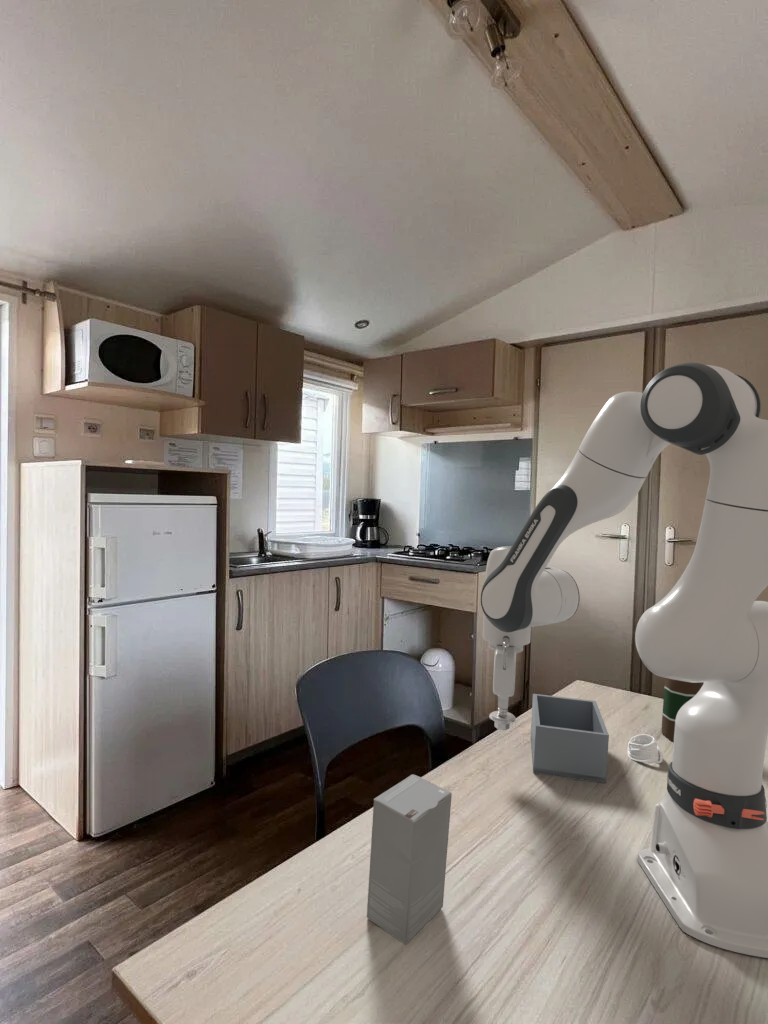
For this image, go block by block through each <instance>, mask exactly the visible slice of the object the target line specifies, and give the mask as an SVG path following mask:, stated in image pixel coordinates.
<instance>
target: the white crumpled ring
mask: <svg viewBox="0 0 768 1024" xmlns="http://www.w3.org/2000/svg"><path fill="white" fill-rule="evenodd" d="M626 751H627V756H628V758H629V759H631V760H632V761H634V762H635V761H636V762H640V763H647V764H662V763H663V761H664V760H663V754H662V751H661V748H660V746H659V745H658V741H657V740H656V739H655V737H654V736H652V735H650V734H645V733H641V734H637V735H633V736H632V737H631V738H630V739H629V741H628V744H627V749H626Z"/></svg>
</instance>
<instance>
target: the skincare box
mask: <svg viewBox="0 0 768 1024" xmlns="http://www.w3.org/2000/svg"><path fill="white" fill-rule="evenodd" d="M452 795H453V794H452V792H451V791H449V790H447V789H444V788H443V787H441V786H438V785H436V784H434V783H432V782H431V781H428V780H427V779H424V778H423V777H421V776H418V775H416V774H414V773H413V774H410V775H409V776H407V777H406V778H405V779H403V780H401V781H399V782H398V783H397V784H395V785H393V786H392V787H390V788H389V789H387V790H385V791H384V792H382V793H381V794H379V795H378V796H376V797H375V798H373V809H372V811H373V812H372V826H371V842H370V857H369V874H368V888H367V903H366V904H367V905H366V906H367V907H366V918H367V919H368V920H369V921H371V922H372V923H374V924H375V925H377V926H378V927H379V928H381V929H382V930H384V931H385V932H387V933H388V934H389V935H391V936H392V937H393V938H395V939H397V940H398V941H399V942H401V943H402V944H404V945H407V944H408V943H409V942H410V941H411V940H412V939H413V938H414V937H415V936H416V935H417V934H419V932H420V931H421V930H422V929H423V928H424V927H425V926H426V925H427V924H428V923H429V922H430V921H431V919H433V918H434V917H435V916H436V915H437V913H439V911H440V910H441V909H442V908H443V907H444V896H445V895H444V894H445V885H446V883H445V881H446V874H447V873H446V871H447V857H448V856H447V855H448V847H449V832H450V822H451V820H450V819H451V810H452V809H451V807H452Z"/></svg>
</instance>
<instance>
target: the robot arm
mask: <svg viewBox="0 0 768 1024" xmlns="http://www.w3.org/2000/svg"><path fill="white" fill-rule="evenodd" d="M761 413H762V401H761V397H760V395H759V391H758V390H757V388H756V387H755V386H754V384H752V383H751V381H749V379H746V378H745V377H744V376H741V375H738V374H736V373H733V372H732V371H730V370H729V369H727V368H724V367H721V366H717V365H711V364H704V363H700V362H684V363H678V364H675V365H671V366H668V367H667V368H664V369H663V370H661V371H660V372H658V373H657V374H656V375H655V376H654V377H652V379H650V381H649V382H648V383H647V385H646V387H645V388H644V390H643V392H640V391H639V392H638V391H622V392H619V393H616V394H614V395H612V396H611V397H610V398H609V399H608V400H607V401H606V402H605V404H604V405H603V407H602V408H601V409H600V411H599V412H598V414H597V415H596V417H595V418H594V420H593V422H592V423H591V425H590V427H588V430H587V432H586V433H585V435H584V436H583V439H582V441H581V443H580V444H579V447H578V449H577V451H576V453H575V456H574V457H573V458H572V460H571V462H570V464H569V465H568V466H567V468H566V470H565V472H564V473H563V474H562V476H561V477H559V479H558V481H556V483H555V484H554V485H553V487H552V488H550V489H549V490H548V492H546V493H545V494H544V496H543V497H542V498H541V500H540V501H539V502H538V503H537V505H536V507H534V510H533V511H532V512H531V514H530V516H529V517H528V519H527V521H526V522H525V524H524V525H523V527H522V529H521V530H520V532H519V534H518V536H517V538H516V539H515V540H514V543H513V544H512V545H506V546H505V545H504V546H499V547H495V548H493V549H492V550H491V551H490V552H489V555H488V558H487V561H486V562H487V563H486V568H485V578H484V583H483V585H482V588H481V591H480V605H481V609H482V612H483V617H482V636H481V637H482V640H483V641H484V642H486V643H487V642H488V649H489V650H491V651H493V652H494V659H493V661H494V662H493V674H492V675H493V677H492V678H493V680H492V693H493V694H494V695H496V696H497V706H498V707H497V708H503V709H507V708H509V698H510V697H511V698H512V697H514V695H515V689H516V688H515V687H516V685H515V684H516V666H517V665H516V663H517V654H519V653H522V652H524V646H527V645H529V644H530V643H531V637H532V628H534V627H539V626H546V625H551V624H558V623H562V622H565V621H568V620H570V619H571V618H573V617H574V615H576V613H577V611H578V608H579V604H580V600H581V599H580V598H581V597H580V596H581V595H580V590H579V585H578V584H577V582H576V580H575V578H574V577H573V576H572V575H571V574H570V573H569V572H567V571H566V570H563V569H559V568H557V567H555V566H552V565H550V564H549V563H550V561H551V559H552V558H553V557H554V555H555V553H556V552H557V550H558V548H559V547H560V545H561V544H562V543H563V542H564V540H566V538H568V537H570V535H572V534H574V533H576V532H577V531H579V530H581V529H583V528H585V527H588V526H590V525H592V524H596V523H597V522H600V521H604V520H606V519H609V518H612V517H614V516H616V515H619V514H620V513H622V512H623V511H625V510H626V509H627V508H628V506H629V505H630V504H631V503H632V501H633V500H635V497H636V496H637V495H638V493H639V492H640V490H641V488H642V487H643V485H644V482H645V481H646V479H647V477H648V475H649V474H650V471H651V469H652V467H653V465H654V463H655V462H656V460H657V458H658V456H659V455H660V454H661V452H662V451H663V450H664V449H665V448H667V447H668V446H670V445H673V446H676V447H679V448H682V449H683V450H686V451H687V452H691V453H693V454H695V455H699V456H700V455H705V457H706V458H707V460H708V463H709V477H708V479H709V481H708V485H707V490H706V495H705V499H704V500H705V501H704V505H703V512H702V514H701V515H702V516H701V520H700V526H699V530H698V534H697V539H696V543H695V546H694V550H693V553H692V556H691V558H690V559H689V562H688V564H687V565H686V567H685V569H684V571H683V573H682V574H681V576H680V577H679V579H678V580H677V582H676V583H675V584H674V585H673V587H672V588H671V589H670V591H669V592H668V593H667V594H666V595H665V596H664V597H663V598H662V599H661V600H659V601H658V602H657V603H655V604H653V606H651V607H649V608H647V609H646V610H645V611H644V612H643V614H642V615H641V616H640V618H639V620H638V622H637V624H636V627H635V634H634V635H635V636H634V642H635V647H636V650H637V653H638V656H639V658H640V659H641V661H642V663H643V664H644V666H645V667H646V668H647V670H649V671H650V672H651V673H652V674H653V675H655V676H658V677H659V678H660V677H661V678H665V679H666V678H669V679H673V680H679V681H684V682H690V683H698V682H703V683H704V684H703V686H702V687H701V689H700V690H699V692H698V693H697V694H696V695H695V696H694V697H693V698H692V699H690V700H689V701H688V702H686V703H685V704H684V705H683V706H682V707H681V708H680V710H679V711H678V713H677V715H676V719H675V732H674V741H673V746H672V747H673V750H672V760H671V762H670V763H669V765H668V770H667V772H666V790H667V793H666V794H665V796H664V797H663V798H662V799H661V800H660V801H659V802H657V803H656V804H655V806H654V809H653V815H652V823H651V824H652V825H651V831H650V839H649V840H650V841H649V847H647V848H643V849H641V850H639V851H637V857H636V860H637V862H638V864H639V866H641V869H642V870H643V872H644V873H645V875H646V876H647V878H648V880H649V881H650V883H651V885H652V886H653V887H654V889H655V890H656V892H657V894H658V895H659V898H661V900H662V901H663V904H664V905H665V906H666V908H667V909H668V911H669V913H670V915H671V916H672V918H673V919H674V921H675V922H676V923H677V925H678V926H679V928H680V929H681V930H682V932H683V933H685V934H687V935H689V936H690V937H692V938H694V939H695V940H696V939H697V940H698V941H701V942H703V943H705V944H708V945H711V946H714V947H716V948H719V949H723V950H727V951H730V952H734V953H738V954H743V955H749V956H753V957H759V958H764V959H765V958H766V959H768V820H767V819H768V816H767V807H768V805H767V798H766V791H765V790H766V789H765V787H764V785H763V773H764V763H765V756H766V755H765V754H766V747H767V740H768V601H764V600H757V599H758V597H759V595H761V594H762V593H763V591H764V590H765V589H766V588H767V587H768V419H762V418H760V416H761ZM503 669H504V670H503ZM505 669H506V670H505ZM507 710H508V709H507Z"/></svg>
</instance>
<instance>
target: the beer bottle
mask: <svg viewBox="0 0 768 1024" xmlns="http://www.w3.org/2000/svg"><path fill="white" fill-rule="evenodd" d="M703 684H704V682H698V683H690V682H684V681H679V680H673V679H669V678H665V680H664V686H663V688H664V689H663V699H662V700H663V701H662V702H663V704H662V718H661V734H662V735H663V736H664V737H665V738H666V739H667V740H669V741H670V742H671V741H672V742H674V732H675V719H676V715H677V713H678V711H679V710H680V708H681V707H682V706H683V705H684V704H685V703H686V702H688V701H689V700H690V699H692V698H693V697H694V696H695V695H696V694H697V693H698V692H699V690H700V689H701V687H702V686H703Z"/></svg>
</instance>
